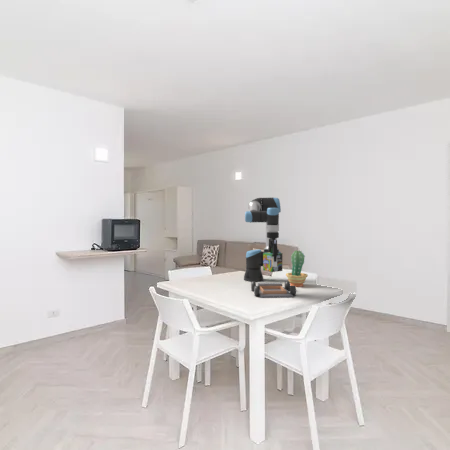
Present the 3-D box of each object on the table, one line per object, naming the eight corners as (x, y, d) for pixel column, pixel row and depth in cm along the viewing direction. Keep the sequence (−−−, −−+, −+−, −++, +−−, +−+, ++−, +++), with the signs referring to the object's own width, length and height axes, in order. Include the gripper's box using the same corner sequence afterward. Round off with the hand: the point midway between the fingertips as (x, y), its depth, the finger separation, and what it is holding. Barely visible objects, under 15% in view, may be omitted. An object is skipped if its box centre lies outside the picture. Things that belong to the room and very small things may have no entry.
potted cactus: (312, 286, 224) (312, 251, 223) (292, 288, 219) (292, 252, 219) (300, 282, 239) (300, 249, 238) (281, 283, 234) (282, 249, 233)
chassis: (250, 288, 217) (250, 280, 217) (287, 288, 218) (287, 279, 218) (256, 297, 193) (256, 287, 193) (297, 297, 194) (297, 287, 194)
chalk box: (272, 269, 212) (272, 246, 211) (282, 271, 204) (283, 247, 204) (262, 270, 206) (262, 247, 206) (272, 272, 199) (272, 248, 198)
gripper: (263, 231, 217) (263, 262, 217) (270, 232, 192) (270, 268, 193) (274, 231, 217) (274, 262, 217) (283, 232, 193) (282, 268, 193)
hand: (272, 265), depth 205 cm, fingers closed on chalk box, 12 cm apart
